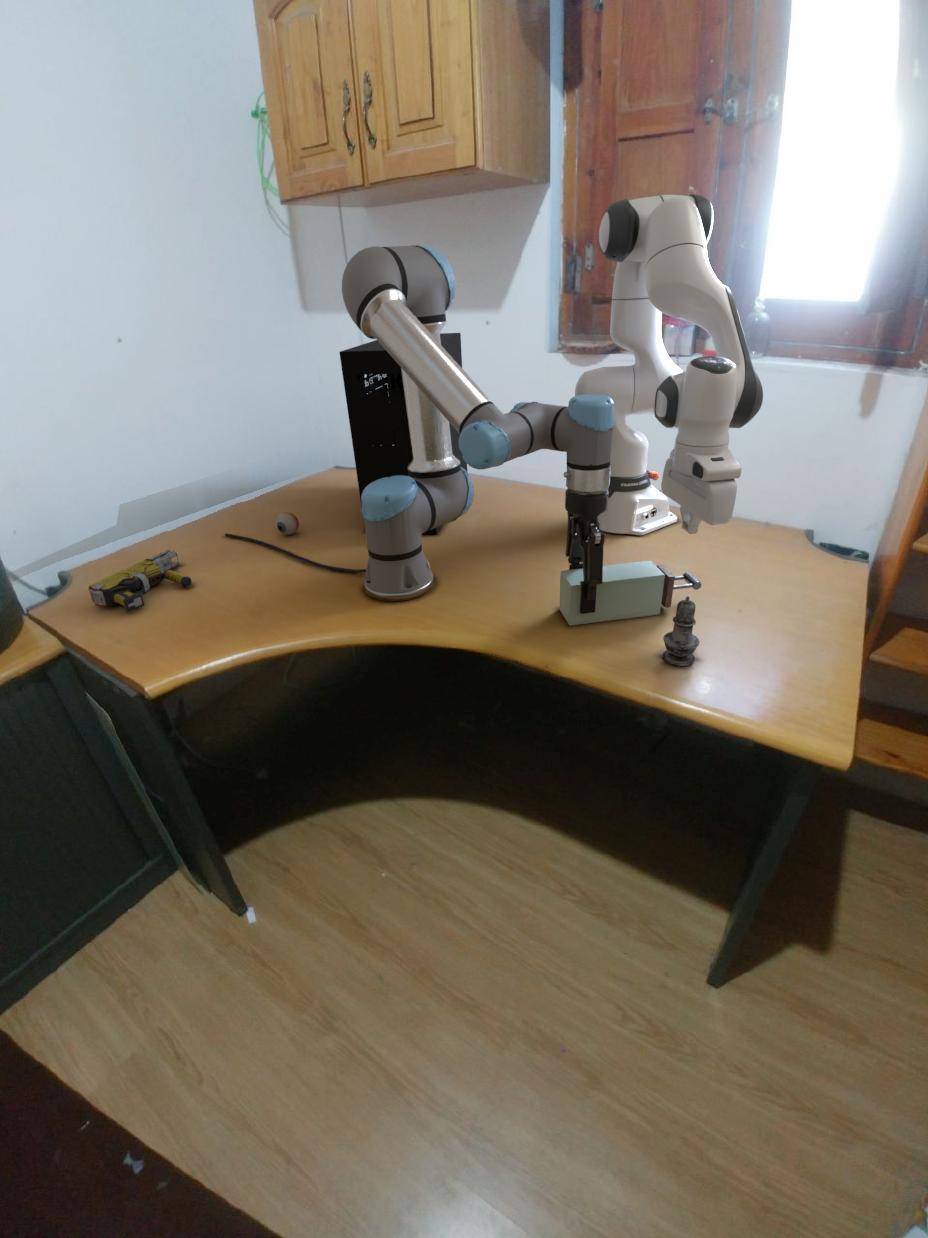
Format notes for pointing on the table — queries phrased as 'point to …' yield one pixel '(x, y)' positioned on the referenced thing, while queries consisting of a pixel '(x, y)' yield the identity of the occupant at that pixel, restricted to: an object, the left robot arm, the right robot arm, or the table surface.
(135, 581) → the toy gun
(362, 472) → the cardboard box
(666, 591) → the drawer
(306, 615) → the table surface
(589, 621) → the cabinet
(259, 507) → the table surface
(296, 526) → the eyeball
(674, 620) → the salt shaker
